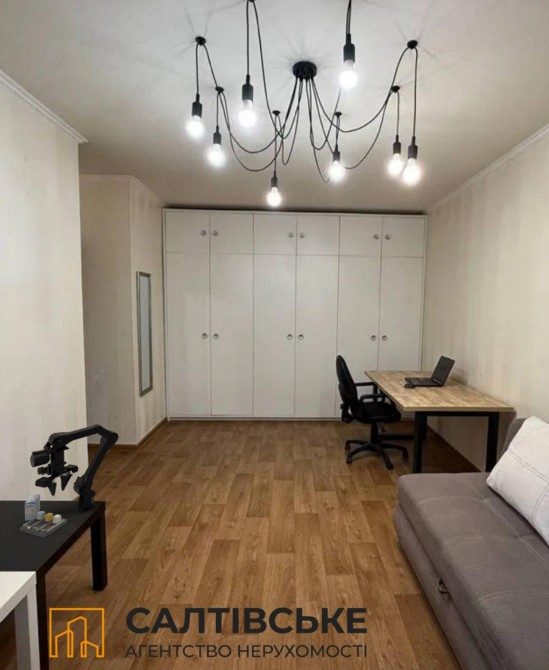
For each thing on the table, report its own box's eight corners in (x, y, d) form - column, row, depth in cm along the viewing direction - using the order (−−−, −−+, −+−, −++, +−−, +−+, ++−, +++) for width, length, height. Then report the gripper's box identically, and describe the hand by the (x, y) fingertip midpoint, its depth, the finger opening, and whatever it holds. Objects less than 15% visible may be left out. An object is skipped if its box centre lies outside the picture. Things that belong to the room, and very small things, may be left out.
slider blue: (42, 515, 169) (42, 510, 169) (46, 516, 168) (46, 511, 168) (36, 519, 166) (36, 513, 166) (40, 520, 166) (40, 514, 165)
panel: (44, 516, 171) (44, 511, 171) (67, 522, 167) (67, 517, 167) (19, 531, 160) (19, 525, 160) (44, 537, 156) (43, 532, 156)
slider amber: (50, 517, 168) (49, 512, 168) (54, 518, 167) (53, 513, 167) (44, 521, 165) (44, 515, 165) (48, 522, 164) (48, 516, 164)
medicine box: (29, 512, 175) (29, 495, 175) (40, 510, 177) (39, 493, 176) (24, 521, 168) (24, 503, 167) (36, 519, 169) (35, 501, 169)
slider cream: (57, 519, 166) (57, 513, 166) (62, 520, 166) (61, 514, 165) (52, 523, 163) (52, 517, 163) (56, 524, 163) (56, 518, 163)
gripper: (61, 451, 180) (61, 481, 181) (25, 466, 163) (26, 500, 164) (78, 454, 177) (79, 485, 178) (44, 469, 159) (45, 504, 160)
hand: (58, 493), depth 170 cm, fingers open, 5 cm apart
